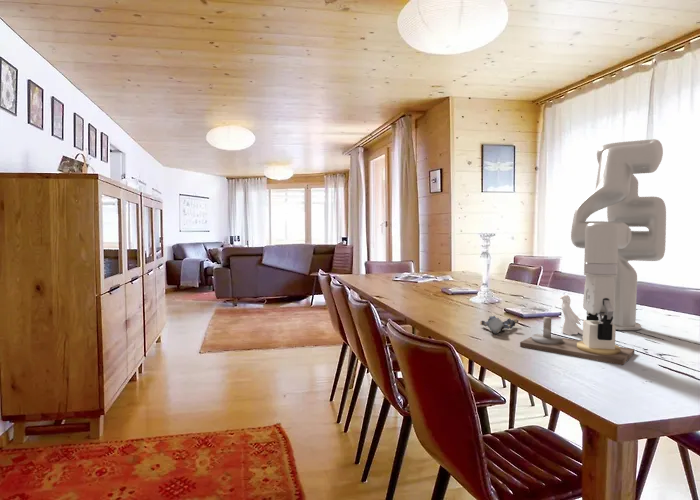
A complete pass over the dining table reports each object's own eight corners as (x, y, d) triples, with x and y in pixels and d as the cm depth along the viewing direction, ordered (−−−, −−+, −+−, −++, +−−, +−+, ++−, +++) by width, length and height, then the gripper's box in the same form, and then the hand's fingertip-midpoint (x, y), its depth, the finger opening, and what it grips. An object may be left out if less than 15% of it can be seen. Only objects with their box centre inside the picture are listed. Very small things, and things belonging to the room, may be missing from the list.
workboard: (537, 337, 135) (537, 312, 135) (634, 353, 118) (635, 324, 118) (520, 346, 126) (520, 319, 125) (622, 365, 109) (623, 333, 108)
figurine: (559, 329, 145) (560, 292, 144) (587, 332, 142) (588, 294, 141) (559, 335, 138) (560, 296, 138) (588, 338, 135) (589, 298, 134)
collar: (582, 341, 122) (583, 320, 121) (607, 343, 120) (607, 321, 120) (589, 347, 116) (589, 324, 116) (614, 349, 115) (615, 326, 114)
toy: (521, 322, 148) (517, 325, 135) (492, 339, 152) (485, 343, 138) (509, 304, 150) (503, 305, 137) (481, 321, 154) (472, 323, 140)
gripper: (575, 266, 126) (574, 327, 127) (594, 273, 109) (592, 342, 110) (605, 267, 125) (603, 328, 126) (629, 273, 108) (626, 344, 109)
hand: (598, 335), depth 118 cm, fingers open, 9 cm apart
